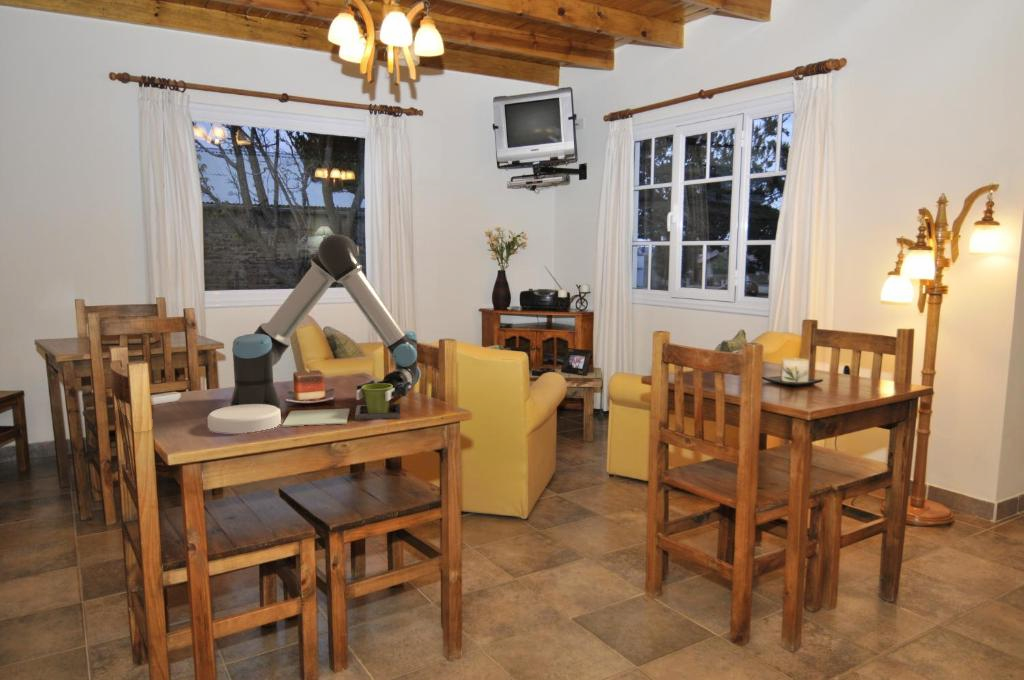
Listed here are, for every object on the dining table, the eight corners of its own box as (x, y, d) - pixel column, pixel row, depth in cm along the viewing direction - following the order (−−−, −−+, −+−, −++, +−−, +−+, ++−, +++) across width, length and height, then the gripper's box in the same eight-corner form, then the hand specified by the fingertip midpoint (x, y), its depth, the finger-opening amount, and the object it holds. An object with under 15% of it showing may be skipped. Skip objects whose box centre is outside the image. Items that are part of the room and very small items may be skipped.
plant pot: (384, 418, 216) (383, 390, 215) (356, 415, 219) (356, 388, 218) (398, 411, 225) (398, 384, 224) (372, 409, 228) (371, 382, 227)
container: (293, 426, 208) (292, 410, 208) (224, 439, 194) (223, 423, 194) (263, 415, 223) (262, 400, 222) (197, 426, 209) (196, 410, 208)
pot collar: (355, 420, 214) (354, 415, 214) (357, 409, 227) (356, 405, 227) (400, 418, 217) (400, 413, 216) (399, 408, 230) (399, 403, 229)
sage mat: (282, 427, 206) (282, 425, 206) (290, 412, 224) (290, 410, 224) (346, 424, 209) (346, 422, 209) (349, 410, 227) (349, 408, 227)
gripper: (428, 394, 237) (405, 409, 215) (367, 391, 241) (339, 406, 219) (427, 371, 236) (405, 385, 214) (366, 369, 240) (338, 382, 218)
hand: (371, 396), depth 217 cm, fingers closed on plant pot, 9 cm apart
